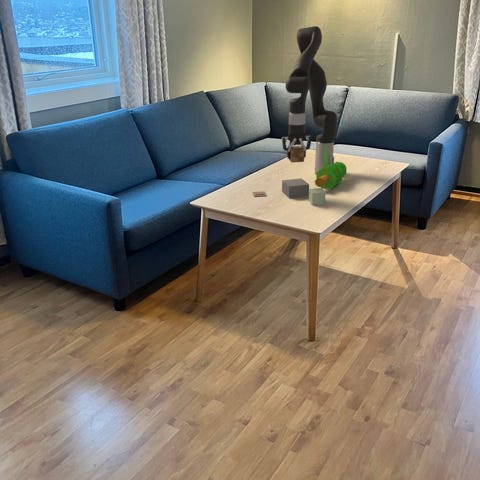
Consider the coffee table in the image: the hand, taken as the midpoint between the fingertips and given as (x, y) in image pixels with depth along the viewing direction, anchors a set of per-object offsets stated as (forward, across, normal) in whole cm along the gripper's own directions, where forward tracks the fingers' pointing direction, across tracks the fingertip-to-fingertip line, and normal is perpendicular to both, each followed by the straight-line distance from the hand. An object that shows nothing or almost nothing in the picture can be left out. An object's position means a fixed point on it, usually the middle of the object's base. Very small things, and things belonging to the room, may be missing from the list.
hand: (296, 158), depth 246 cm
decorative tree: (+18, -22, -11) cm, 30 cm away
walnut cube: (+1, 0, 0) cm, 1 cm away
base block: (+18, 0, 0) cm, 18 cm away
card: (+17, +17, -2) cm, 24 cm away
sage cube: (+17, -7, +14) cm, 23 cm away
